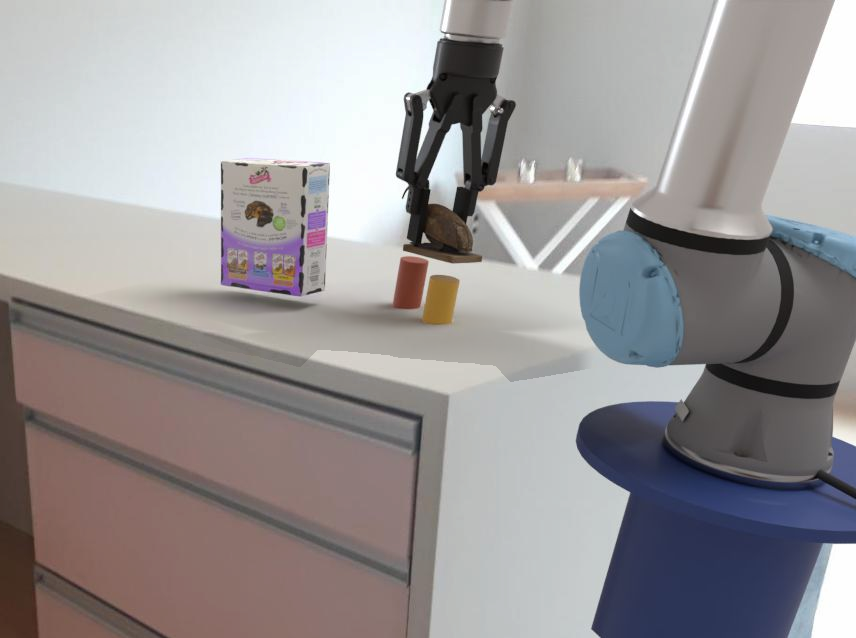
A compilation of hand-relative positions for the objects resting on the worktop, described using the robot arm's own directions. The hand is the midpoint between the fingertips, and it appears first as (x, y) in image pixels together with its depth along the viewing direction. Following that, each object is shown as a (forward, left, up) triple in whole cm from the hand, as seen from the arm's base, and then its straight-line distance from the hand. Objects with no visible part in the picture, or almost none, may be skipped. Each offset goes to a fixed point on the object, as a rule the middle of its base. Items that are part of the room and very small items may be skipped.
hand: (434, 241), depth 143 cm
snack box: (+12, +16, -10) cm, 23 cm away
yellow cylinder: (-5, 0, -10) cm, 11 cm away
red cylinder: (+4, 0, -10) cm, 11 cm away
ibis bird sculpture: (0, 0, -2) cm, 2 cm away
